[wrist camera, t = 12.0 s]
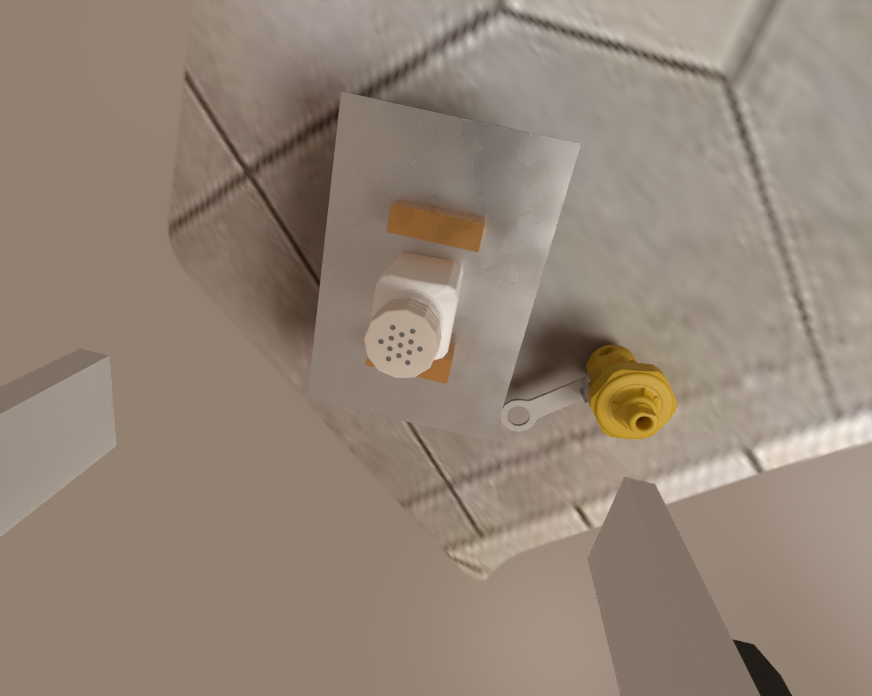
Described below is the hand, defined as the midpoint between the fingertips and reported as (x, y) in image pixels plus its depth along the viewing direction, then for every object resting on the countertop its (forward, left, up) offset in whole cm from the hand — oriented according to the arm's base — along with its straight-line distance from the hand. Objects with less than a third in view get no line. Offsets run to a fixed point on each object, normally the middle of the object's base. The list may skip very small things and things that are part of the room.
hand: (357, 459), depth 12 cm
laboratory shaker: (0, 0, -27) cm, 27 cm away
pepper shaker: (0, 0, -18) cm, 18 cm away
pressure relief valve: (+8, +12, -27) cm, 31 cm away
